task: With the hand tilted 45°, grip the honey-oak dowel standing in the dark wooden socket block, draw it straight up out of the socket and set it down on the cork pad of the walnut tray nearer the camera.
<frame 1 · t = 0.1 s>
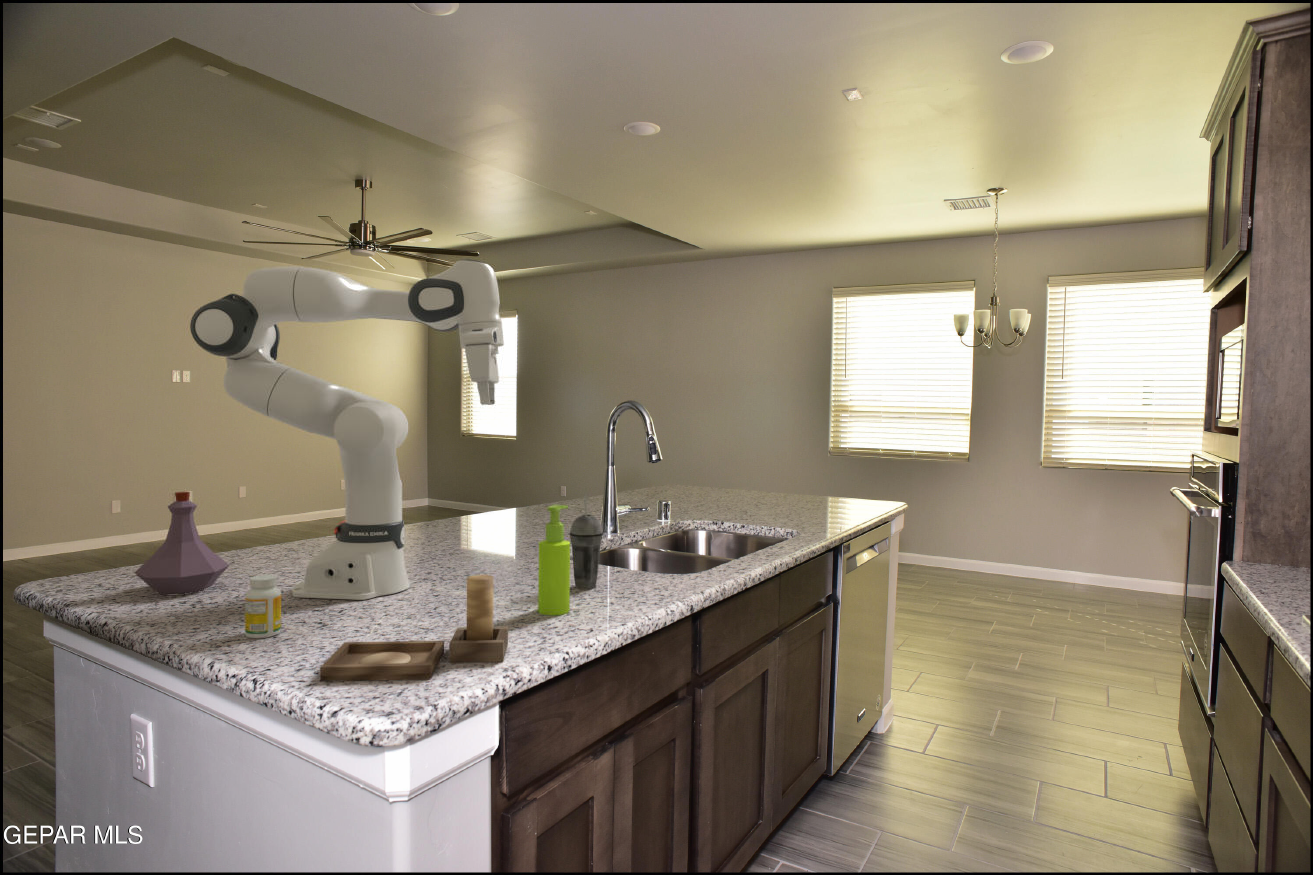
hand: (488, 404, 156), 39 cm above the worktop, tool pointing down, fingers open, 8 cm apart
beverage cup: (585, 587, 160), on the worktop
flask: (183, 590, 152), on the worktop
socket: (479, 653, 116), on the worktop
soap dispenser: (555, 611, 141), on the worktop
supplement bottle: (263, 635, 124), on the worktop
tray: (385, 666, 110), on the worktop
dowel: (479, 615, 116), in the socket
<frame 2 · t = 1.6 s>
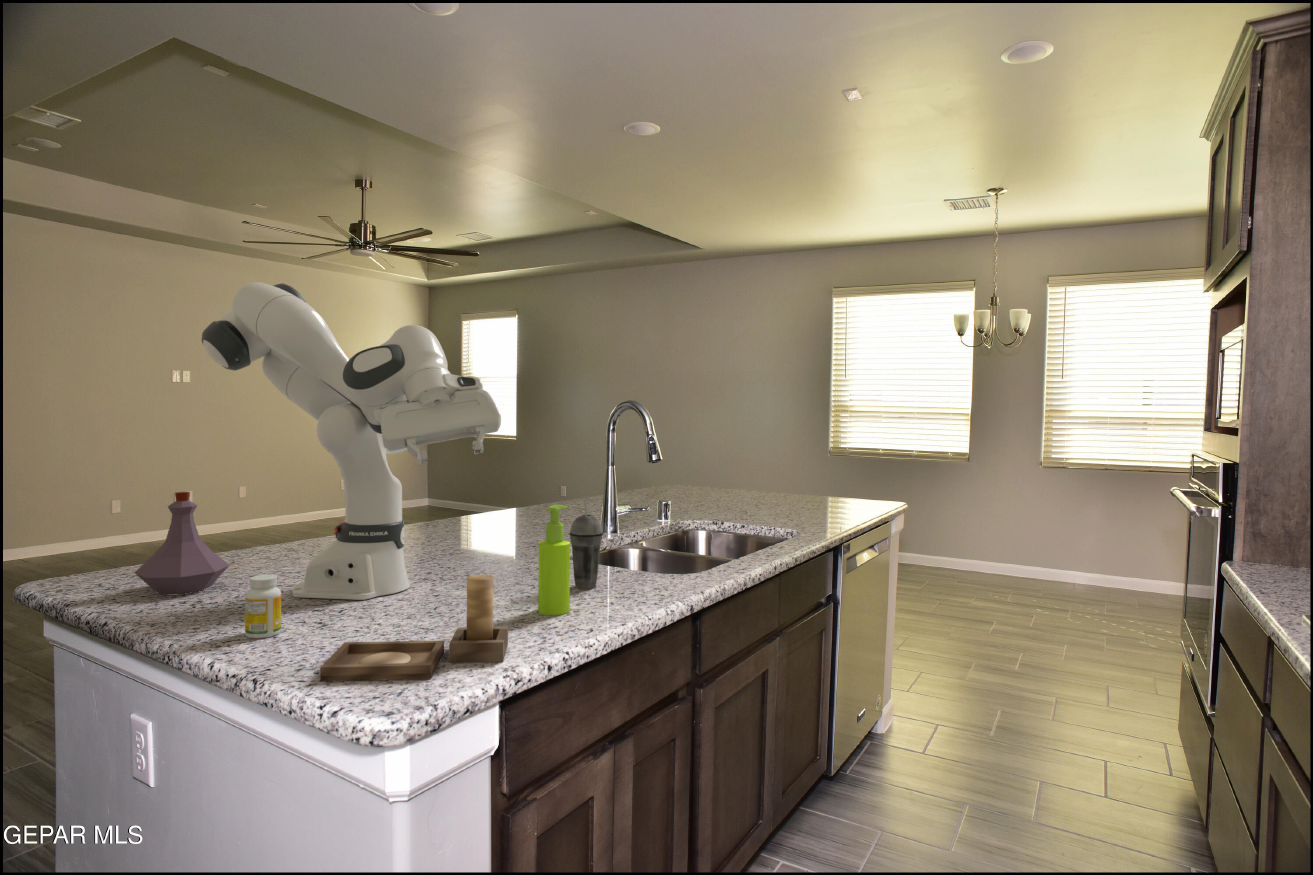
hand: (451, 456, 126), 30 cm above the worktop, tool tilted 45°, fingers open, 8 cm apart
nothing on the worktop moved.
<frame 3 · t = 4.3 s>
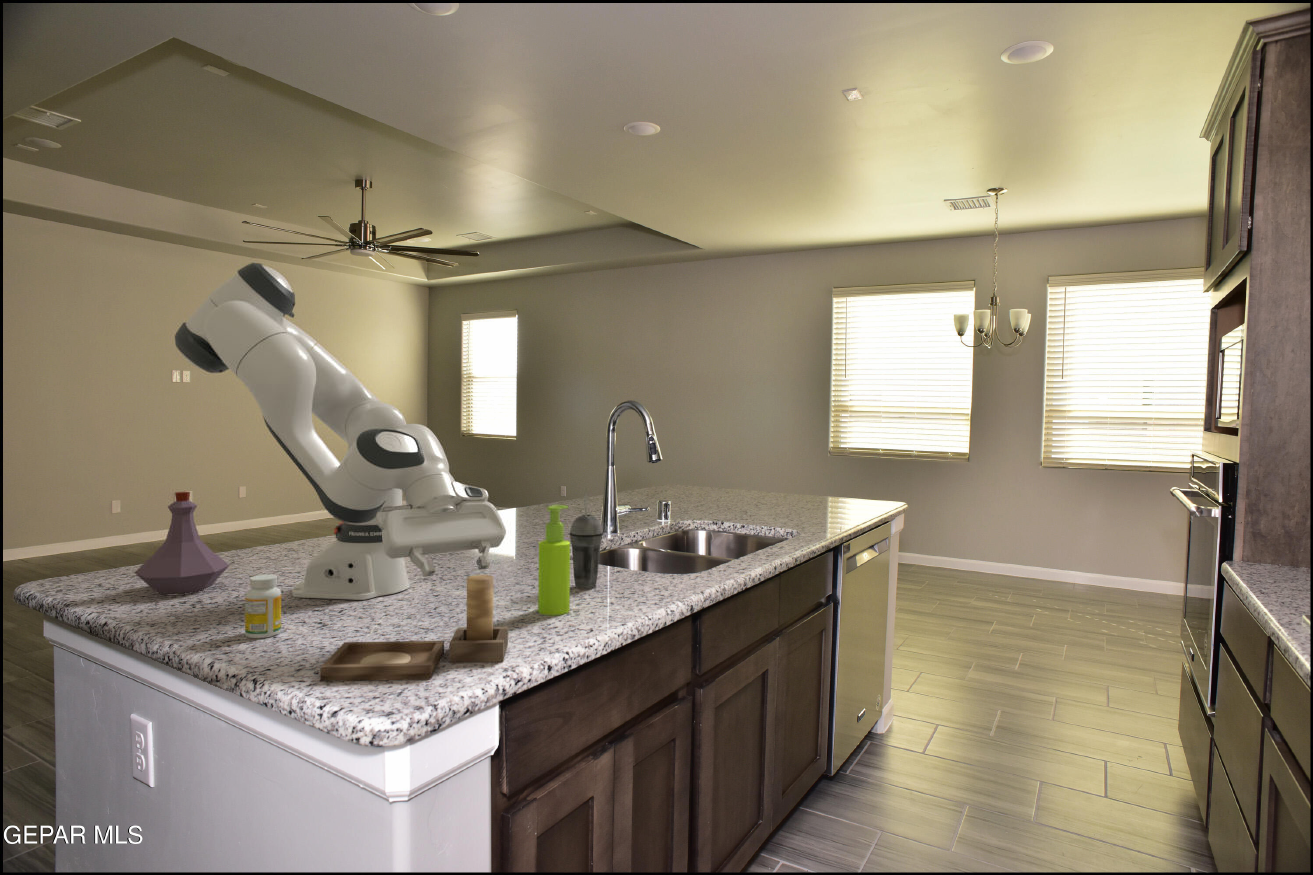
hand: (457, 570, 120), 12 cm above the worktop, tool tilted 45°, fingers open, 8 cm apart
nothing on the worktop moved.
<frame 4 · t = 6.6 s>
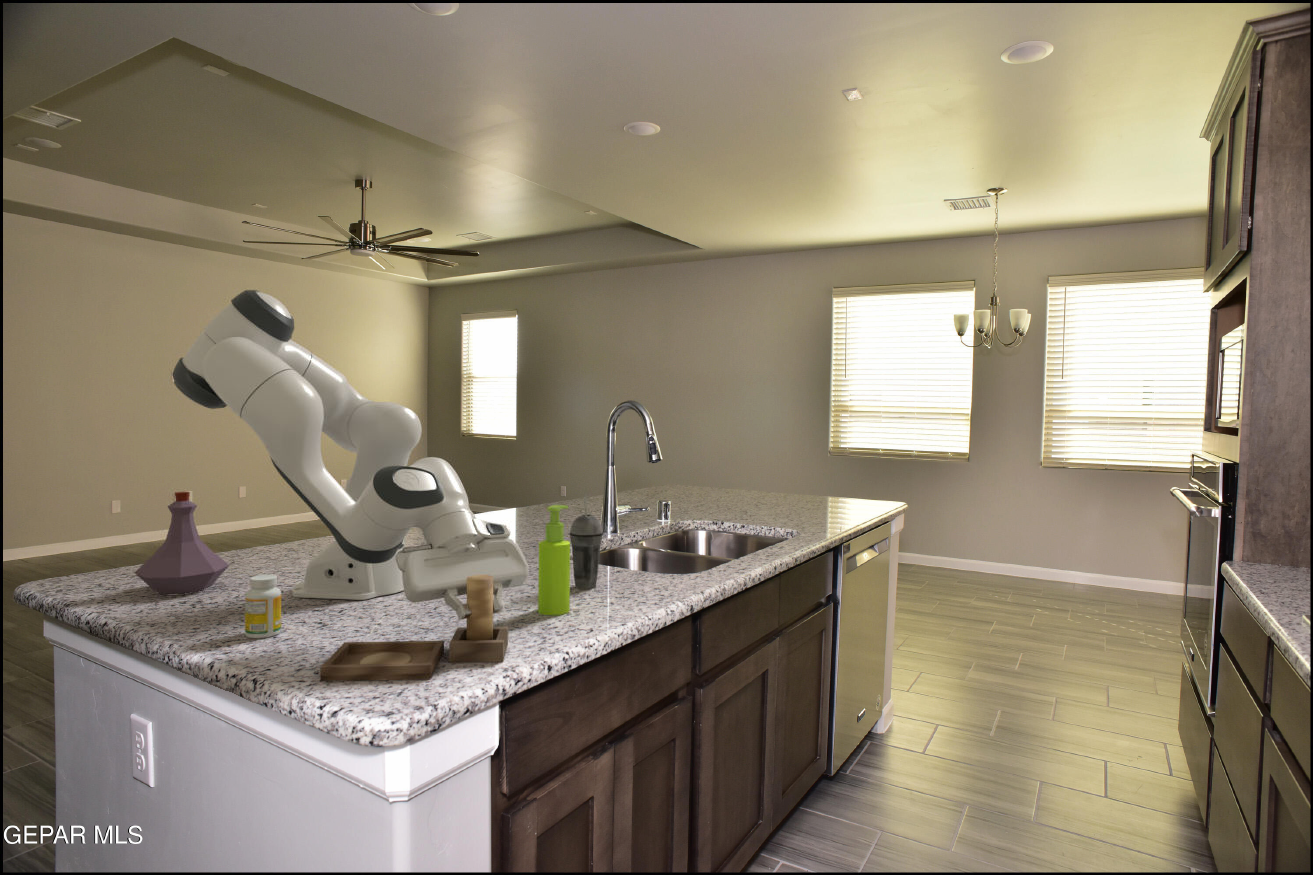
hand: (481, 614, 115), 6 cm above the worktop, tool tilted 45°, fingers closed on dowel, 4 cm apart
dowel: (479, 615, 116), in the socket, touching gripper
everything else where it was.
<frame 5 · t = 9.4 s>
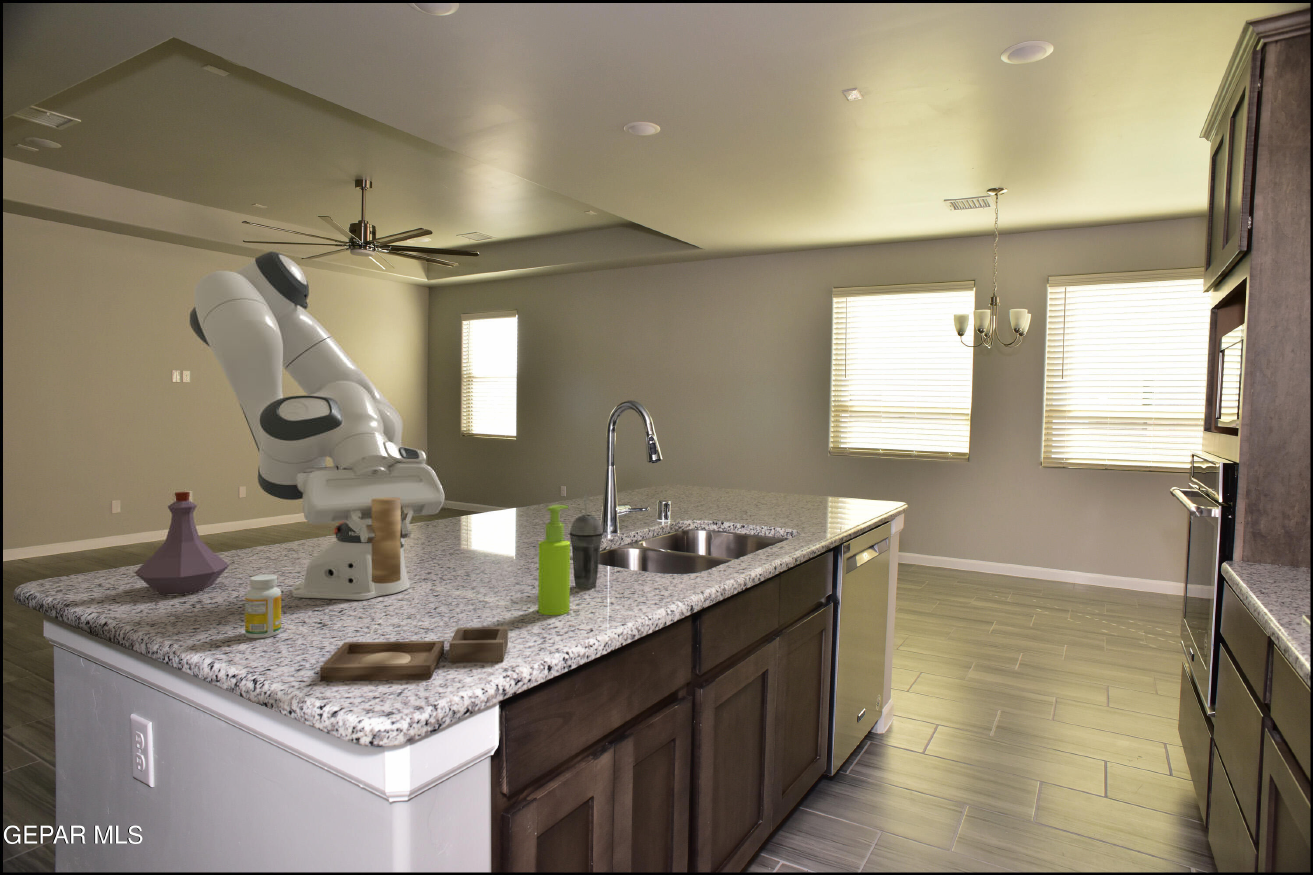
hand: (387, 537, 109), 19 cm above the worktop, tool tilted 45°, fingers closed on dowel, 4 cm apart
dowel: (386, 539, 109), point 19 cm above the worktop, touching gripper
everything else where it was.
when the fingers open (8 cm above the worktop, at t = 12.3 s): dowel stays where it is, resting on tray.
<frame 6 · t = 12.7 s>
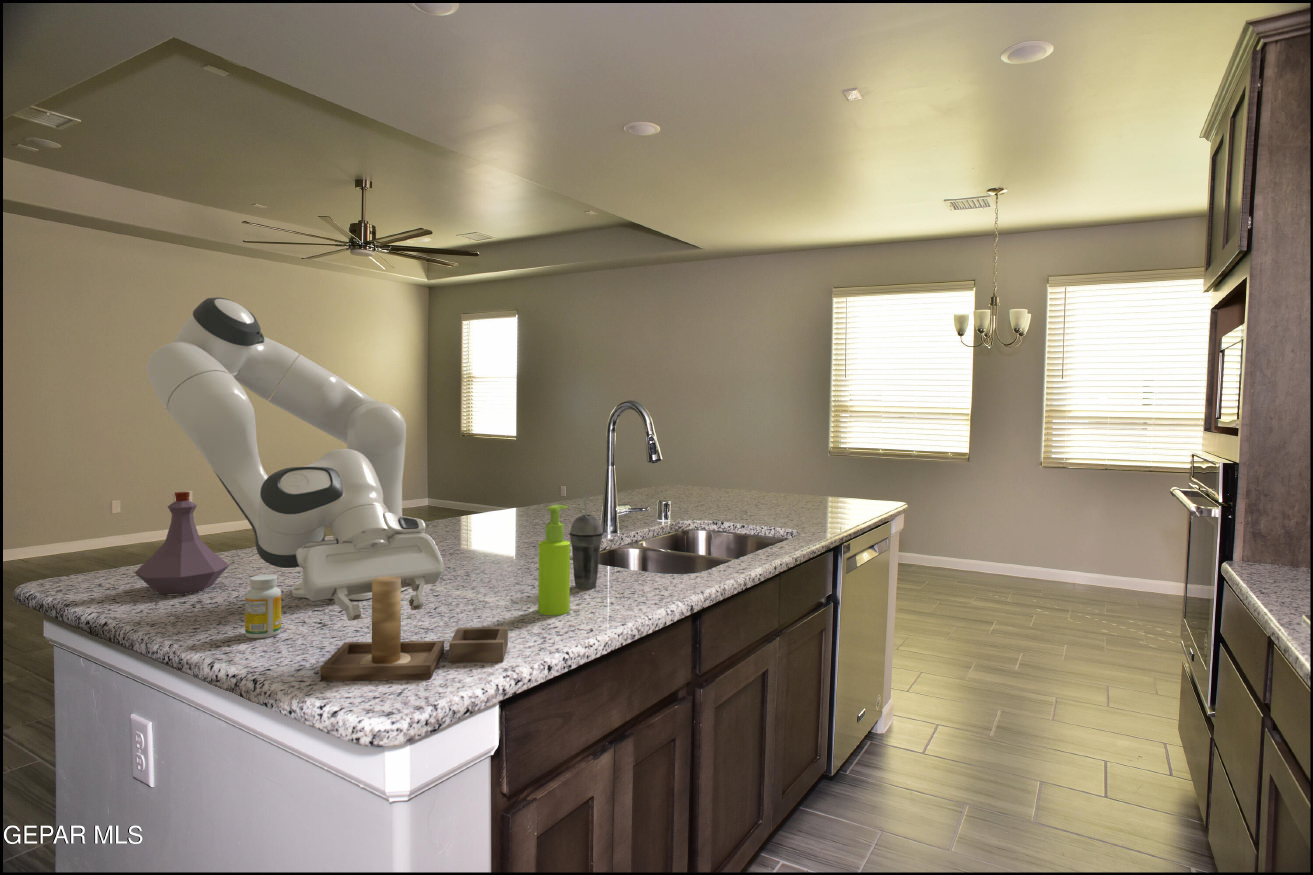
hand: (387, 612, 109), 8 cm above the worktop, tool tilted 45°, fingers open, 8 cm apart
dowel: (386, 619, 110), in the tray, point 7 cm above the worktop
everything else where it was.
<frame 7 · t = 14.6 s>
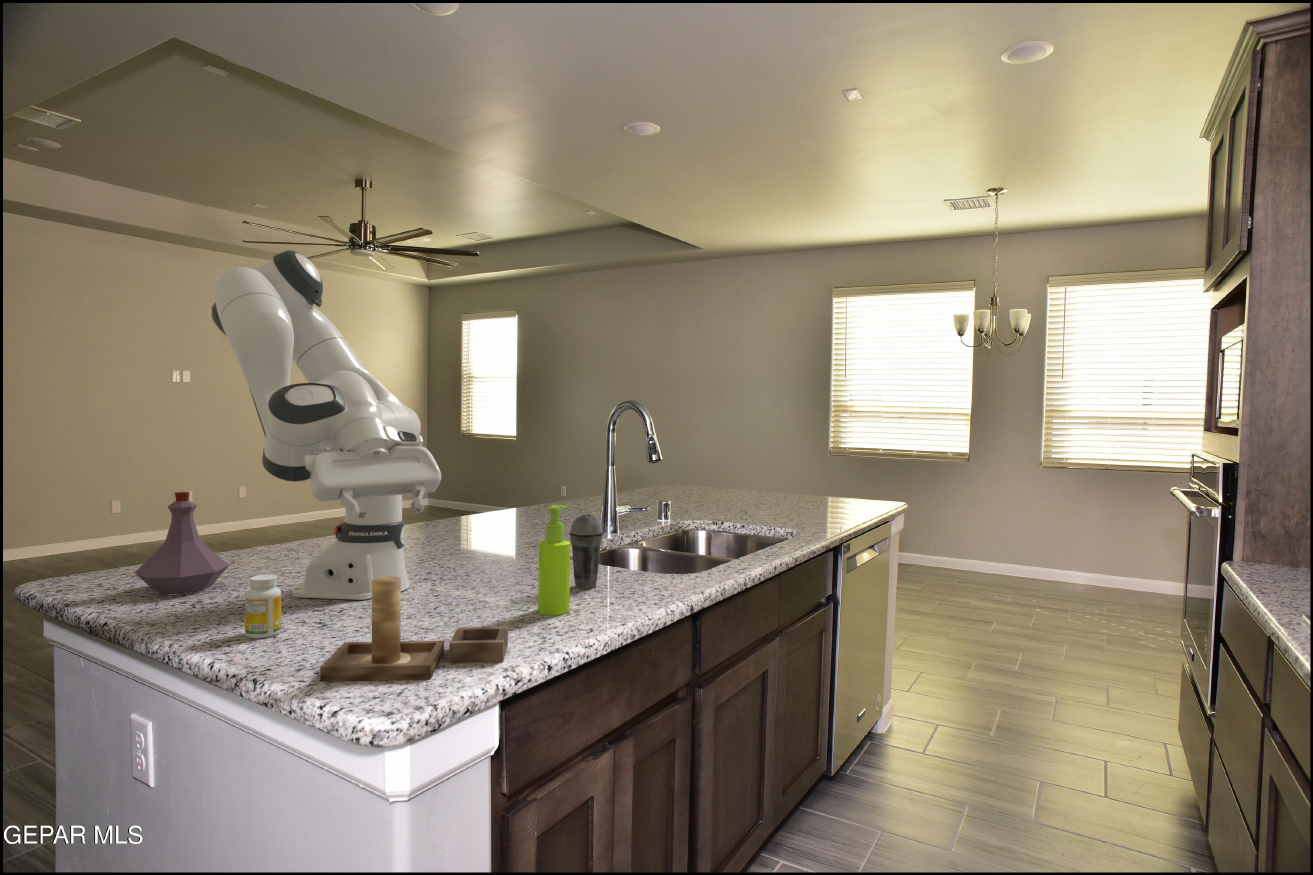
hand: (390, 513, 118), 22 cm above the worktop, tool tilted 45°, fingers open, 8 cm apart
nothing on the worktop moved.
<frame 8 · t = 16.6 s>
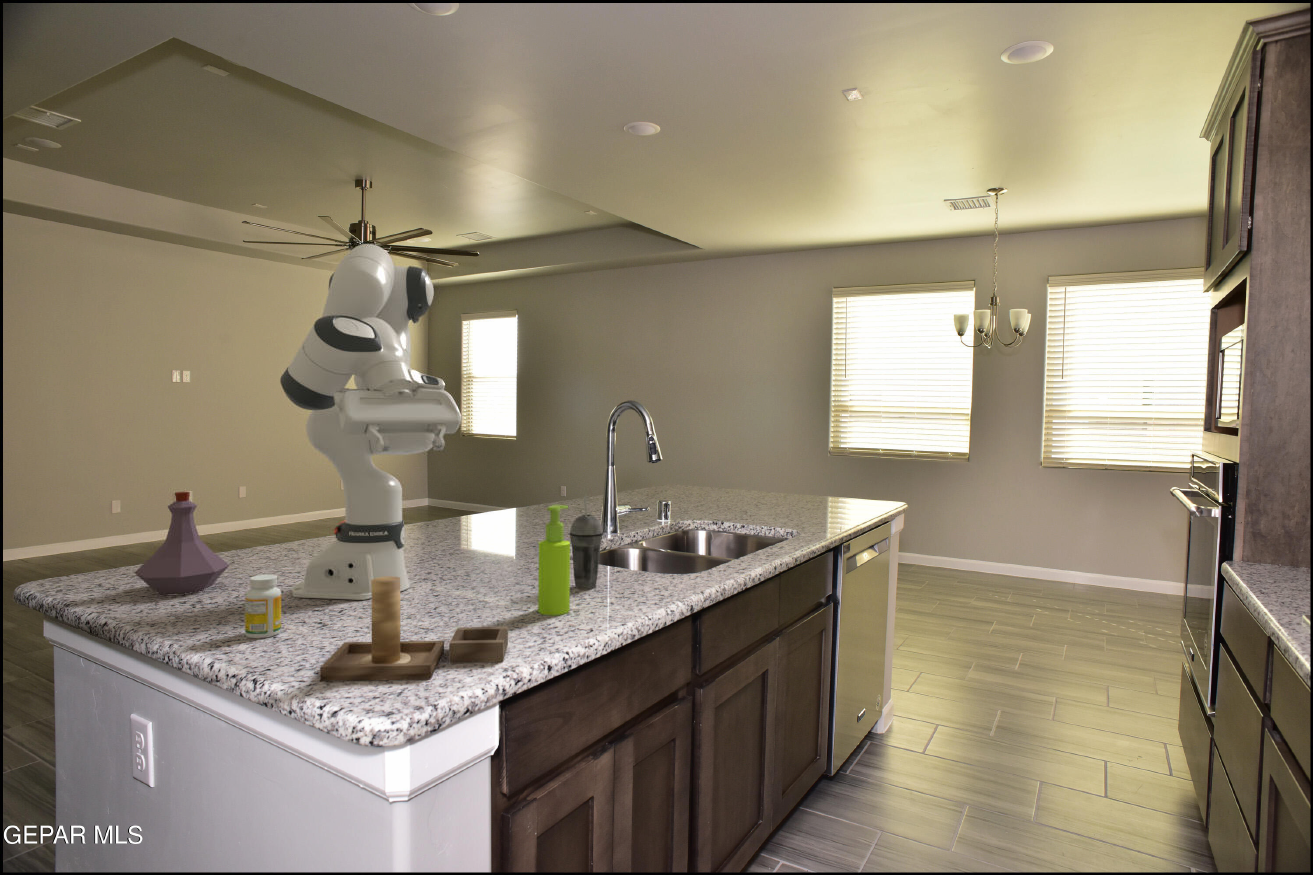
hand: (412, 448, 125), 31 cm above the worktop, tool tilted 45°, fingers open, 8 cm apart
nothing on the worktop moved.
at the end: dowel inside the target area on the tray (0.1 cm from its centre), point 7.0 cm above the tray's base; dowel touching tray; the gripper is holding nothing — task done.
